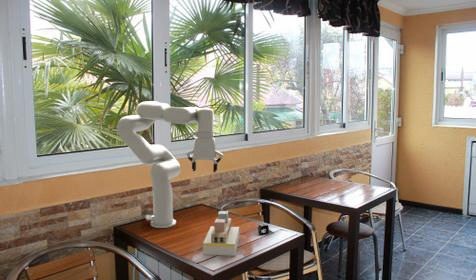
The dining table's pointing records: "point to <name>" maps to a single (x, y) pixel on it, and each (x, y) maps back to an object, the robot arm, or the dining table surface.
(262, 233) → the black piece
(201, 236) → the dining table surface
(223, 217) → the block
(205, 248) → the dock
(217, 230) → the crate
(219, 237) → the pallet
